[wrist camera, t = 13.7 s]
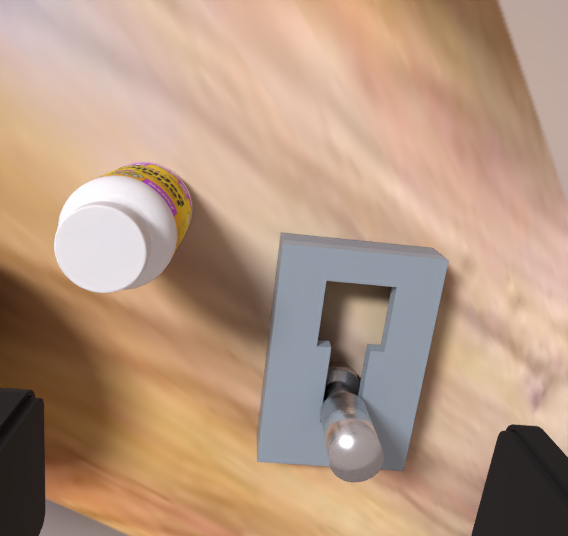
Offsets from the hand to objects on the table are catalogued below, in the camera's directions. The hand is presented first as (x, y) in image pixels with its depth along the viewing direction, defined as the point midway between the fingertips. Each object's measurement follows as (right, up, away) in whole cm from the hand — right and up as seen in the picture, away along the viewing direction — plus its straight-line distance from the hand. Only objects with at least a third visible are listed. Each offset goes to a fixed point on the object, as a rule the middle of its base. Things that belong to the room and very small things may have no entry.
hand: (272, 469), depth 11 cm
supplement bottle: (-10, +9, +29) cm, 32 cm away
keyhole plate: (+5, -2, +33) cm, 33 cm away
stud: (+4, -6, +34) cm, 35 cm away
